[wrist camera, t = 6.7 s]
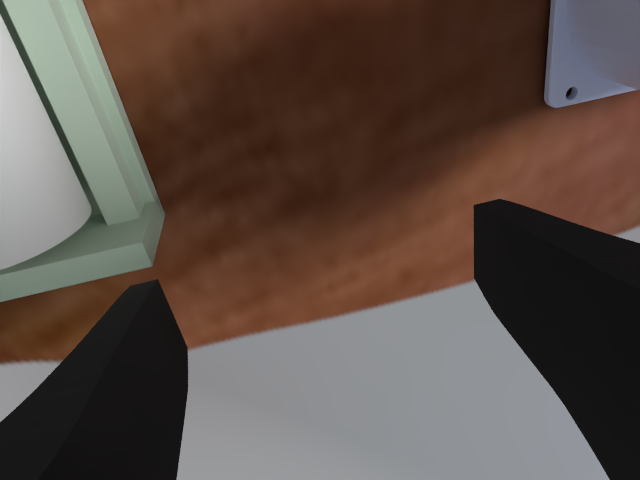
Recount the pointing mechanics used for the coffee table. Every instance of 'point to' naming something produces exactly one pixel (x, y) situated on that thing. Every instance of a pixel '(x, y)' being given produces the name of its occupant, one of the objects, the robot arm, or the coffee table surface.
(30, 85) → the roll
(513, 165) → the coffee table surface
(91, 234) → the holder
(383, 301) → the coffee table surface
